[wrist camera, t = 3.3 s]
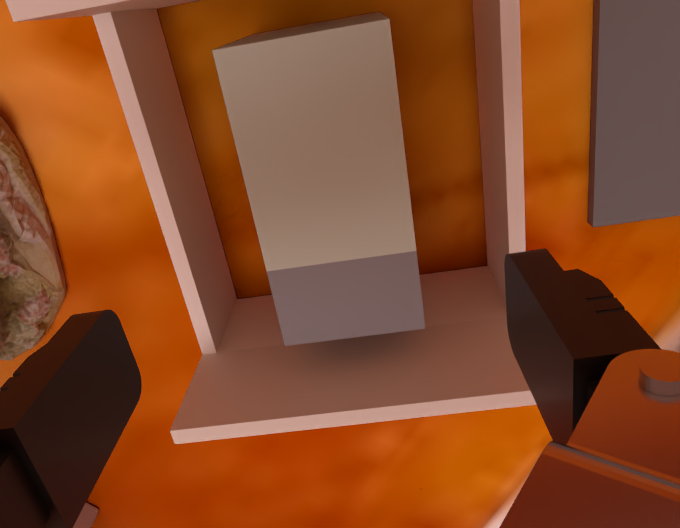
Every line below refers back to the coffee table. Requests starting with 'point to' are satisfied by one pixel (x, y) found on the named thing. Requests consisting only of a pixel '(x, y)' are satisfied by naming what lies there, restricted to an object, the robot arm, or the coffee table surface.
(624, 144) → the mat
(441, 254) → the coffee table surface
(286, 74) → the box
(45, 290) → the ceramic model
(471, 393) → the carton
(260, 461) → the coffee table surface
